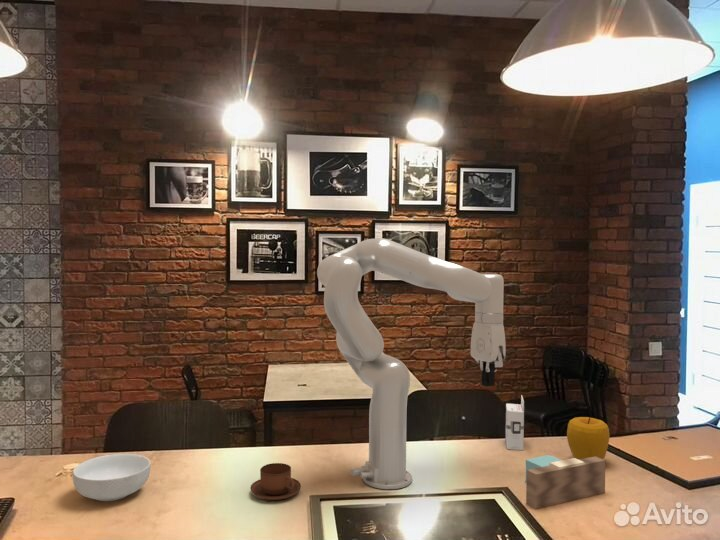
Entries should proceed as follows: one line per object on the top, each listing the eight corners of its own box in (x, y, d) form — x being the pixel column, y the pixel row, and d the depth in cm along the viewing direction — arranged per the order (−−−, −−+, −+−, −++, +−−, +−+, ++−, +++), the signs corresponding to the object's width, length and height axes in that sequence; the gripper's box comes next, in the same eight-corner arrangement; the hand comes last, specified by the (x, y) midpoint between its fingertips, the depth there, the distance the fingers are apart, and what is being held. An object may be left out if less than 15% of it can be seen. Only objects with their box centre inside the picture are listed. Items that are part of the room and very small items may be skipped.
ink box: (505, 440, 177) (505, 393, 176) (521, 441, 176) (522, 394, 175) (506, 449, 168) (507, 400, 168) (523, 450, 167) (524, 401, 167)
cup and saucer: (308, 487, 140) (308, 463, 140) (286, 508, 128) (287, 481, 128) (265, 481, 144) (265, 457, 143) (240, 500, 132) (240, 474, 132)
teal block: (555, 498, 135) (556, 473, 135) (525, 483, 144) (525, 459, 144) (579, 491, 139) (579, 467, 139) (548, 477, 148) (548, 454, 147)
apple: (565, 466, 155) (566, 420, 154) (567, 453, 165) (568, 410, 164) (609, 472, 151) (610, 424, 150) (608, 459, 161) (609, 414, 160)
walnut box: (535, 509, 128) (535, 471, 128) (525, 503, 131) (526, 467, 131) (605, 492, 138) (605, 457, 137) (594, 488, 140) (595, 453, 140)
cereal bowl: (73, 516, 123) (73, 484, 123) (72, 488, 138) (72, 459, 138) (155, 501, 131) (155, 471, 131) (146, 476, 146) (146, 449, 146)
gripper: (461, 316, 159) (460, 381, 160) (495, 322, 146) (494, 393, 146) (483, 315, 163) (482, 379, 163) (518, 321, 149) (517, 390, 150)
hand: (488, 385), depth 155 cm, fingers closed
